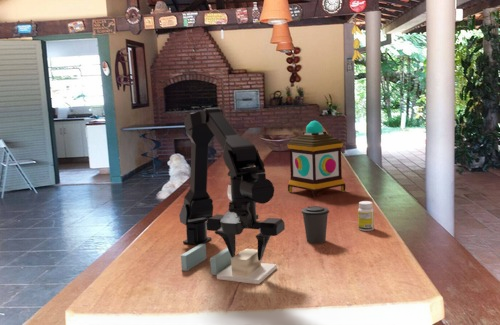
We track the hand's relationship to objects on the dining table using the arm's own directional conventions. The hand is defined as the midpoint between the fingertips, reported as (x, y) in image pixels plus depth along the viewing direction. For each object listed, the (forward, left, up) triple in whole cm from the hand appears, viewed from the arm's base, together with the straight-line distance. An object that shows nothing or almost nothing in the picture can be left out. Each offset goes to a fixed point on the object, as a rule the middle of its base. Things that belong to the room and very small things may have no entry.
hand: (246, 258), depth 128 cm
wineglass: (-49, -27, -4) cm, 56 cm away
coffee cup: (-30, +8, -4) cm, 31 cm away
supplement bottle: (-46, +19, -4) cm, 50 cm away
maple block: (0, 0, -3) cm, 3 cm away
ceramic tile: (0, 0, -4) cm, 4 cm away
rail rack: (-2, -12, -4) cm, 13 cm away
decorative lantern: (-96, -13, -4) cm, 97 cm away
